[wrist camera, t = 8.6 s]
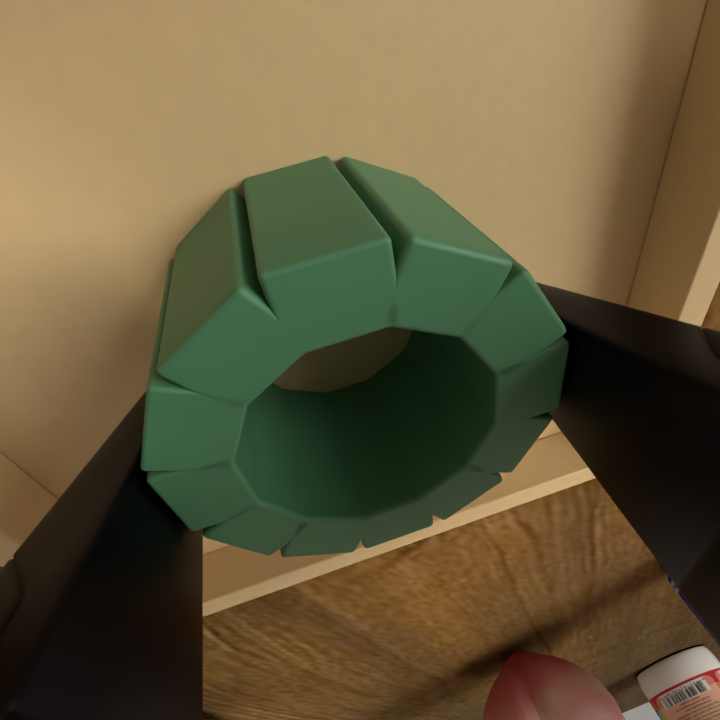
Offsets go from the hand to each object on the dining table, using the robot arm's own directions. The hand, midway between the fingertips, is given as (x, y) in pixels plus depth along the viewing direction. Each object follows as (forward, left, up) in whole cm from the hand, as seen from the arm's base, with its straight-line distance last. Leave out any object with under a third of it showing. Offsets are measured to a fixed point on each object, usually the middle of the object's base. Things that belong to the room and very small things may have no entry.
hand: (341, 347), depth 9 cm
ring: (0, 0, -1) cm, 1 cm away
